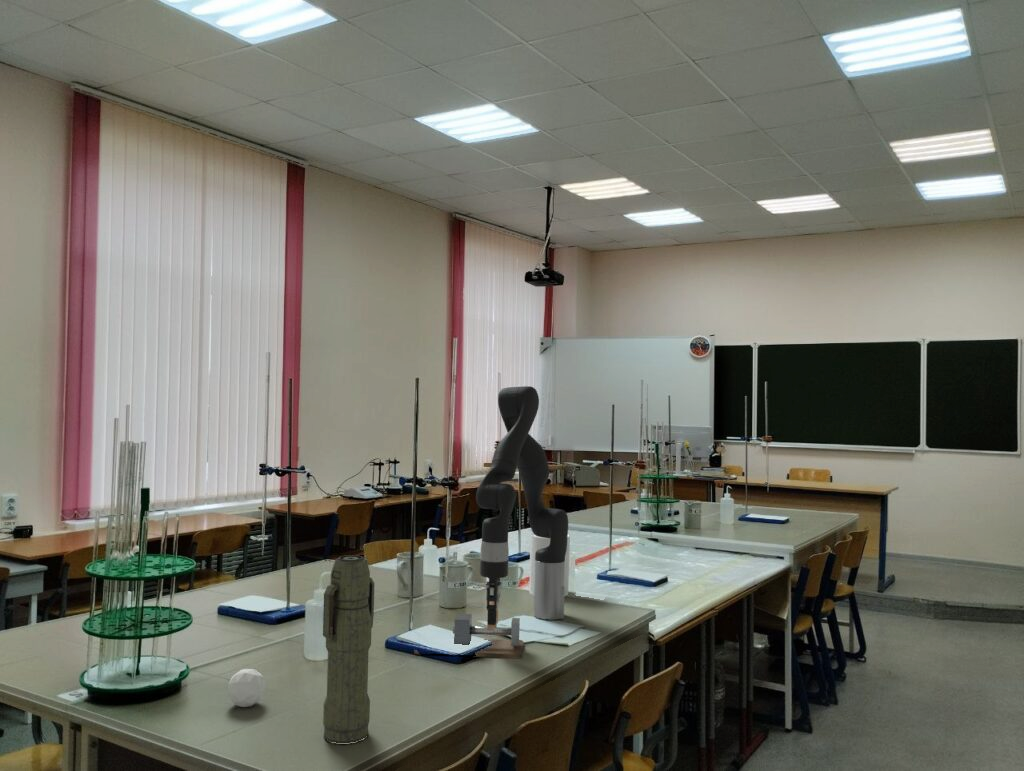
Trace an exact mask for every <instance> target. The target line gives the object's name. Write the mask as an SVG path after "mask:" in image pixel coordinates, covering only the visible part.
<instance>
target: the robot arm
mask: <svg viewBox="0 0 1024 771" xmlns="http://www.w3.org/2000/svg"><path fill="white" fill-rule="evenodd" d="M497 404H498V409H499V413H500V416H501V419H502V421H503V425H504V426H505V429H506V431H507V433H506V434H505V435H504V437H502V439H501V440H500V441H499V442H498V444H497V445H496V447H495V449H494V452H493V457H492V460H491V464H490V467H489V468H488V471H487V472H486V474H485V475H484V477H483V479H482V480H481V482H480V484H479V486H478V487H477V489H476V494H475V500H476V503H477V505H478V506H479V508H481V509H483V510H485V509H486V510H496V511H499V513H498V515H497V516H494V517H488V518H485V519H484V520H483V521H482V526H481V545H480V557H479V558H480V560H479V562H480V563H479V575H480V576H481V577H483V578H487V579H488V581H486V583H485V590H486V591H485V592H486V594H485V595H486V596H485V600H486V611H487V618H488V625H495V624H496V611H497V602H498V604H499V602H500V598H501V589H502V581H501V579H503V578H506V577H508V575H509V557H510V556H509V525H510V520H511V517H512V512H513V509H514V507H515V503H516V499H517V492H516V489H515V488H514V486H513V485H512V484H509V483H507V482H509V481H512V480H513V479H514V478H515V476H516V472H518V474H519V478H520V481H521V485H522V489H523V494H524V497H525V502H526V506H527V507H526V509H527V514H528V521H529V526H530V529H531V531H532V533H534V534H535V535H536V536H538V537H543V538H550V545H549V546H548V547H546V548H542V549H539V550H537V551H536V553H535V590H534V595H533V598H534V600H533V616H534V617H535V618H537V619H540V618H541V620H546V619H548V621H551V620H553V621H554V620H555V621H556V620H561V619H562V620H564V619H565V596H564V590H565V588H564V577H565V554H566V550H567V537H568V535H569V517H568V513H567V512H566V511H565V510H564V509H559V508H553V507H552V508H551V507H546V506H545V504H544V500H543V492H544V488H545V487H546V484H547V482H548V479H549V478H550V468H549V463H548V458H547V455H546V452H545V450H544V448H543V447H542V445H541V444H540V443H539V442H538V441H537V440H536V439H535V438H534V437H533V436H531V434H530V430H531V428H532V427H533V426H532V425H533V424H534V421H535V419H536V417H537V414H538V410H539V407H540V398H539V394H538V391H537V389H536V388H535V387H533V386H531V385H530V386H528V385H527V386H526V385H525V386H512V387H511V386H510V387H504V388H501V389H500V391H499V392H498V397H497ZM517 470H518V471H517ZM490 602H494V605H490Z"/></svg>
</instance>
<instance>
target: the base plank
mask: <svg viewBox="0 0 1024 771" xmlns="http://www.w3.org/2000/svg"><path fill="white" fill-rule="evenodd" d="M483 639H484V640H488V641H491V642H492V645H491V646H488V647H486V648H484V649H481V650H480V651H477V652H475V655H476V656H475V657H477V658H480V657H481V658H503V659H505V658H506V659H507V658H508V659H522V658H523V648H524V640H523V639H522V640H520V639H519V646H511V639H499V638H498V639H495V638H494V639H493V638H492V639H491V638H483ZM413 652H414V653H413V654H414V655H420V654H419V652H418V651H417V650H415V649H414V651H413Z"/></svg>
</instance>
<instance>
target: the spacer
mask: <svg viewBox="0 0 1024 771" xmlns="http://www.w3.org/2000/svg"><path fill="white" fill-rule="evenodd" d="M490 605H494V602H490ZM498 619H499V603H498V602H497V611H496V624H495V625H488V617H487V621H486V622H487V625H486V627H487V628H496V627H498V626H497V625H498V622H499V620H498Z"/></svg>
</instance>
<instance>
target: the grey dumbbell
mask: <svg viewBox="0 0 1024 771" xmlns="http://www.w3.org/2000/svg"><path fill="white" fill-rule="evenodd" d="M520 620H521V619H520V617H512V619H511V627H505V626H504V627H501V626H500V627H498V626H497V627H496V628H487V626H474V625H473V626H470V634H471V635H480V636H481V635H484V636H487V635H489V636H510V640H511V646H519V640H520V624H521V623H520ZM454 626H455V625H453V626H452V627H453V628H452V634H454Z"/></svg>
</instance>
